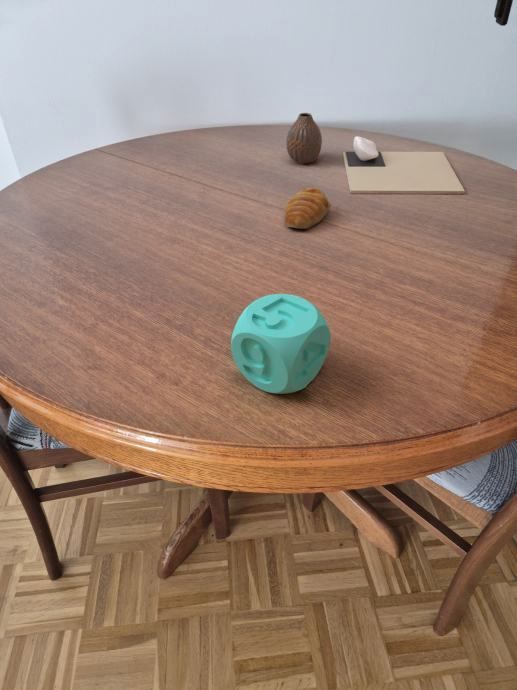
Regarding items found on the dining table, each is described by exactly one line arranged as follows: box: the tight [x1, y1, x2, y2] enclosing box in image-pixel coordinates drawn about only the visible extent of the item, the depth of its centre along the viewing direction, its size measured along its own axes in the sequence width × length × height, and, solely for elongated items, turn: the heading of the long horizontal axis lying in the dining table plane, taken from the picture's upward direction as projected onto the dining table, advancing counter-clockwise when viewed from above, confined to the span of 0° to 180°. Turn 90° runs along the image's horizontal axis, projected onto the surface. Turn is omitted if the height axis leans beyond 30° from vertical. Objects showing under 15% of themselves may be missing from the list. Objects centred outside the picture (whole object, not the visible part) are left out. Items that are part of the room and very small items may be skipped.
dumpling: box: [353, 135, 379, 161], centre depth 105 cm, size 7×5×4 cm
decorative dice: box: [230, 293, 331, 395], centre depth 60 cm, size 8×8×8 cm
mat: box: [342, 151, 466, 195], centre depth 103 cm, size 20×18×1 cm
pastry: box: [284, 187, 332, 230], centre depth 88 cm, size 9×7×4 cm
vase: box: [285, 112, 323, 165], centre depth 105 cm, size 7×7×9 cm
